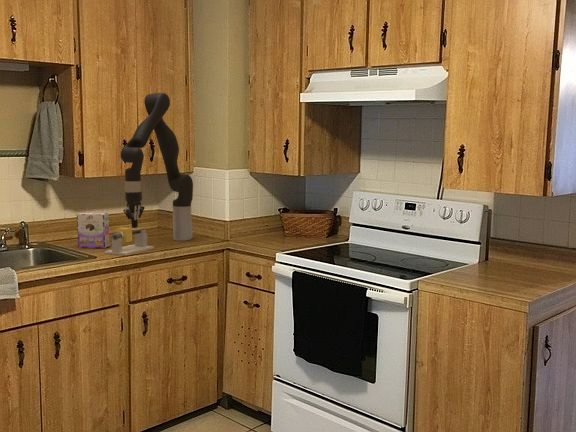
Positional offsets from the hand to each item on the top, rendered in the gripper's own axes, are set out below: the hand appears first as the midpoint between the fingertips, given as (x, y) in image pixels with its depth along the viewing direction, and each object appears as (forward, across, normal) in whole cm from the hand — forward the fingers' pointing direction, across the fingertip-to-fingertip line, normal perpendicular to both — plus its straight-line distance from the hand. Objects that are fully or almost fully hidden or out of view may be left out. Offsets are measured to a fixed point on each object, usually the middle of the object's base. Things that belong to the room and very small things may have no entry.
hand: (134, 227), depth 322 cm
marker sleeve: (+5, +7, 0) cm, 9 cm away
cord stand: (+10, +4, 0) cm, 11 cm away
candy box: (+10, +5, -21) cm, 24 cm away
